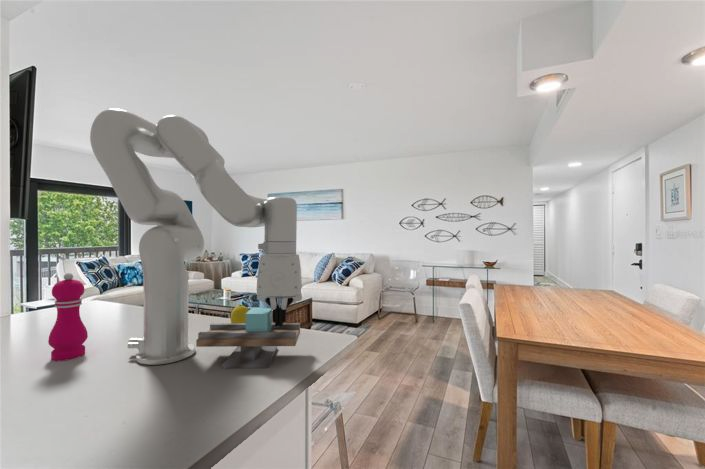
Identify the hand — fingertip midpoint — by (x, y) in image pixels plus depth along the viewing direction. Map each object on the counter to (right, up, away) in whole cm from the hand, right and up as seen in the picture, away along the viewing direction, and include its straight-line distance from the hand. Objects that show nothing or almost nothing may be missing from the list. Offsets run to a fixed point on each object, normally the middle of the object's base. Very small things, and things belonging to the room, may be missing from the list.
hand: (279, 324), depth 81 cm
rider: (-5, -2, 0) cm, 5 cm away
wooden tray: (-7, -8, 0) cm, 10 cm away
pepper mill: (-51, -8, 0) cm, 51 cm away
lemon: (-17, -8, +21) cm, 28 cm away
